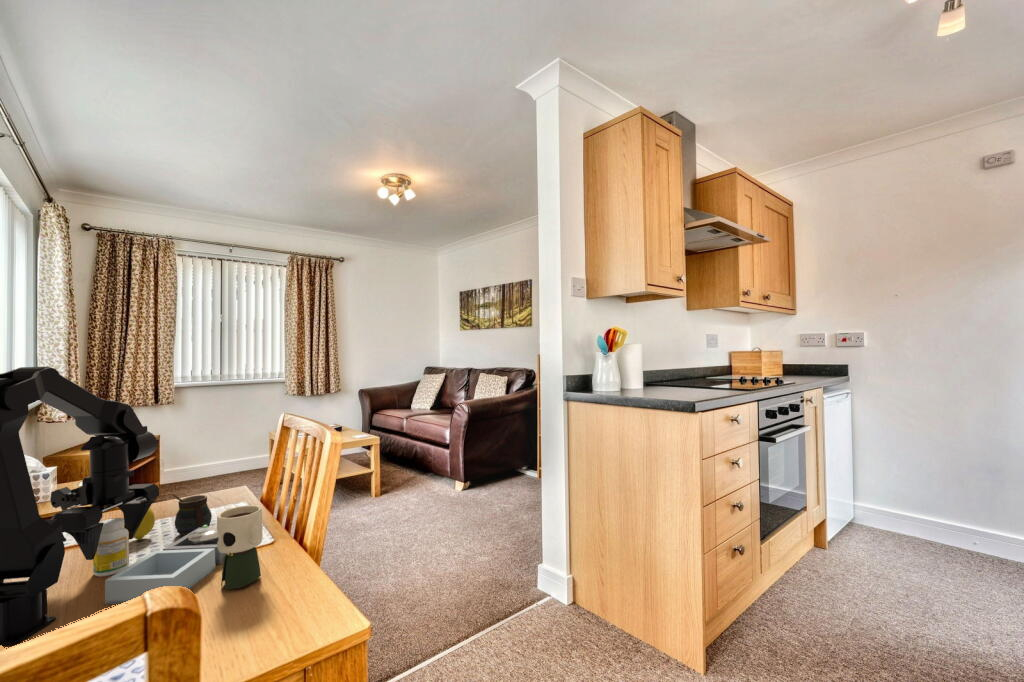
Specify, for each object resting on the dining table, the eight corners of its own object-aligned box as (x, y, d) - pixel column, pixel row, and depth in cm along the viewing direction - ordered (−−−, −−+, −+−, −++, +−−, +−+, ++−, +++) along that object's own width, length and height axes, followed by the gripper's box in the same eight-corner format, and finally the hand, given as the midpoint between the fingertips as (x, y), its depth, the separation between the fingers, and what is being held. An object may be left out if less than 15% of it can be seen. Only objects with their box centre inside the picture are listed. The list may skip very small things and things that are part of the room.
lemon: (128, 537, 106) (127, 503, 106) (158, 533, 109) (157, 499, 109) (120, 547, 101) (119, 510, 101) (151, 541, 104) (150, 506, 104)
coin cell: (215, 549, 93) (215, 538, 93) (180, 550, 93) (180, 539, 93) (235, 534, 100) (235, 524, 100) (202, 536, 100) (202, 526, 100)
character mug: (205, 584, 84) (203, 512, 84) (245, 568, 90) (243, 500, 90) (236, 600, 78) (235, 523, 78) (277, 581, 84) (275, 510, 84)
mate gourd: (218, 530, 110) (217, 488, 110) (182, 542, 103) (181, 497, 103) (203, 524, 113) (202, 483, 114) (167, 535, 107) (166, 492, 107)
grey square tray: (219, 564, 91) (219, 543, 91) (163, 567, 91) (162, 545, 91) (249, 541, 102) (249, 522, 102) (199, 543, 102) (198, 524, 102)
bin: (174, 601, 78) (173, 577, 78) (105, 604, 78) (104, 580, 78) (215, 568, 90) (214, 548, 90) (155, 571, 89) (154, 550, 89)
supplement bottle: (121, 574, 88) (120, 524, 89) (86, 579, 87) (85, 528, 87) (134, 562, 94) (133, 514, 94) (102, 566, 92) (101, 518, 92)
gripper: (107, 458, 99) (108, 531, 99) (17, 484, 81) (18, 574, 81) (160, 457, 100) (161, 529, 100) (82, 482, 81) (84, 571, 81)
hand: (110, 548), depth 90 cm, fingers open, 9 cm apart
